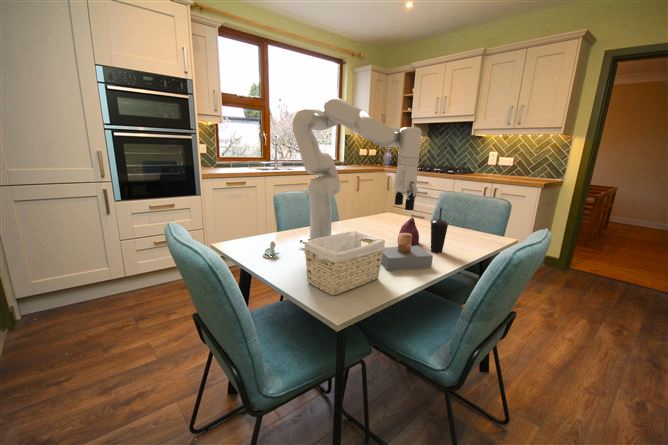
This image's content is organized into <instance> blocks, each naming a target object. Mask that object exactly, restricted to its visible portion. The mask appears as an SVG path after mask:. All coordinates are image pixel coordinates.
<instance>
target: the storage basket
mask: <svg viewBox="0 0 668 445" xmlns="http://www.w3.org/2000/svg"><path fill="white" fill-rule="evenodd" d="M362 242H363V243H366V244H365V245H362ZM385 243H386V241H385V239H384V238H379V237H376V236H373V235H371V234H367V233H363V232H359V231H356V230H354V231H345V232H341V233H335V234H331V235H330V236H325V237H320V238H316V239H312V240H309V241H306V242H305V244H304V254H305V266H306V269H305V270H306V281H307V283H309V284H310V285H312V286H315V288H319V289H320V290H321V291H323V292H326V293H327V294H329V295H331V296H336V295H339V294H342V293H345V292H347V291H350V290H353V289H354V288H358V287H361V286H363V285H366V284H367V283H369V282H373V281H375V280H377V279H379V276H380V271H381V270H380V269H381V266H382V265H381V260H382V255H383V254H382V253H383V251H384V247H385Z"/></svg>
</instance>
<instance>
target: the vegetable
mask: <svg viewBox="0 0 668 445" xmlns="http://www.w3.org/2000/svg"><path fill="white" fill-rule="evenodd" d="M399 233H410V234H412V242H411V246H419V242H420V233H419V231H418V228H417V225H416V222H415V219H414V217H413V216H411V217H410V218H409V219H408V220H407V221H405V222H404V223H403V224H402V225H401V228H400V229H399V232H398V236H397V241H398V240H399Z"/></svg>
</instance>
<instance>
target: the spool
mask: <svg viewBox="0 0 668 445" xmlns="http://www.w3.org/2000/svg"><path fill="white" fill-rule="evenodd" d="M398 235H399V240H398V239H397V247H398V252H399V253H403V254H409V253H411V242H412V234H410V233H399V232H398Z"/></svg>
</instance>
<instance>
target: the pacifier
mask: <svg viewBox="0 0 668 445" xmlns="http://www.w3.org/2000/svg"><path fill="white" fill-rule="evenodd" d="M275 248H276V242H275V241H271V242H270V243H269V248H268V247H267V248H266V249H265V250H264V253H263V254H262V257H263V256H264V257H263V258H265V257H267V258H266V259H274V258H275V257H276V256H277V255H279V254H280V252H276V251H275ZM265 254H266V255H265ZM269 255H270V256H272V257H269ZM274 256H275V257H274ZM273 257H274V258H273Z"/></svg>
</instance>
